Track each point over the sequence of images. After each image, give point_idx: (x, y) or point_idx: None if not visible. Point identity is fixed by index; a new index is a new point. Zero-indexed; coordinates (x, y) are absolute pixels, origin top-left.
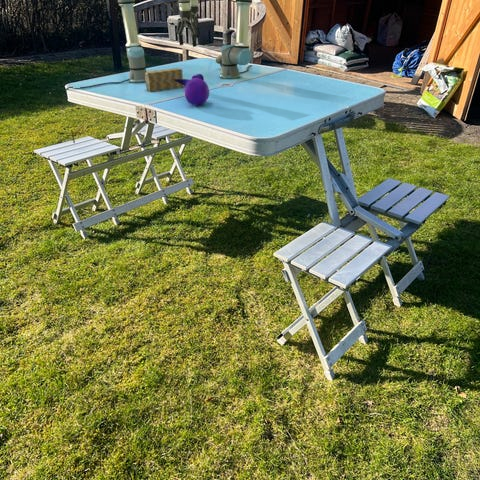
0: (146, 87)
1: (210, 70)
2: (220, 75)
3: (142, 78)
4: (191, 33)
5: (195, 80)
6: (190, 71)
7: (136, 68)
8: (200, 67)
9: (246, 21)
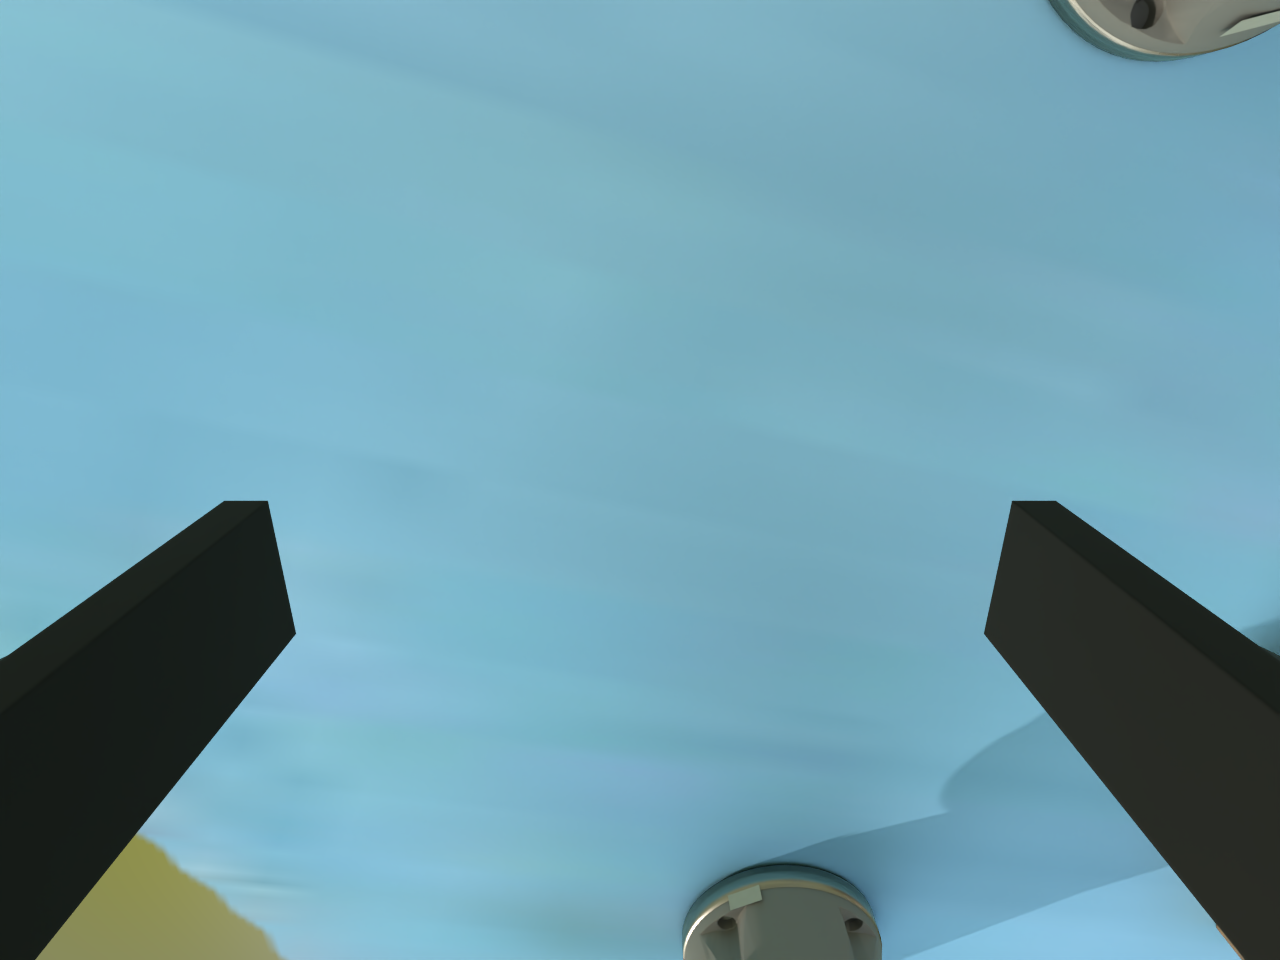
0: (1237, 950)
1: (422, 30)
2: (1170, 53)
3: (880, 954)
4: (240, 697)
5: None
6: (412, 375)
7: None
8: (74, 129)
9: None
